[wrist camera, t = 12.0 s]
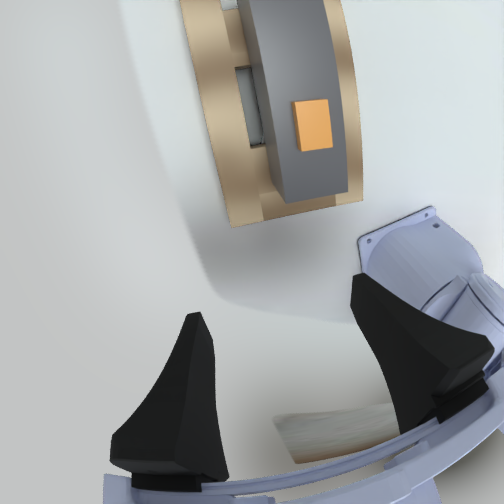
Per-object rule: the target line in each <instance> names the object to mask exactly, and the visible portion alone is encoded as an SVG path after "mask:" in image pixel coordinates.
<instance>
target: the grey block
mask: <svg viewBox="0 0 504 504" xmlns="http://www.w3.org/2000/svg"><path fill="white" fill-rule="evenodd" d="M237 4H238V8H239V13H240V17H241V22H242V26H243V31H244V35H245V40H246V45H247V49H248V54H249V59H250V64H251V69H252V74H253V79H254V84H255V89H256V94H257V100H258V105H259V110H260V116H261V121H262V127H263V132H264V134H263V137H262V141H261V144H264V143H265V144H266V150H267V156H268V162H269V168H270V174H271V180H272V183H273V185H274V186H275V188H276V190H277V191H278V193H279V194H280V196H281V197H282V199H283V201H284V202H285V204H289V203H294V202H299V201H304V200H309V199H314V198H319V197H324V196H330V195H335V194H340V193H346V192H348V171H347V153H346V139H345V127H344V117H343V108H342V99H341V91H340V84H339V77H338V70H337V64H336V58H335V53H334V47H333V42H332V37H331V32H330V27H329V23H328V18H327V14H326V10H325V6H324V2H323V0H237Z"/></svg>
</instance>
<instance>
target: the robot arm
mask: <svg viewBox="0 0 504 504" xmlns="http://www.w3.org/2000/svg"><path fill="white" fill-rule="evenodd" d="M368 239H369V241H367V240H368ZM358 244H359V251H360V257H361V264H362V271H363V273H361V274H357V275H354V276H353V281H352V293H351V304H350V307H351V309H352V312H353V314H354V317H355V319H356V322H357V324H358V326H359V327H360V329H361V331H362V333H363V334H364V336H365V338H366V340H367V342H368V344H369V345H370V347H371V349H372V351H373V353H374V354H375V356H376V358H377V360H378V362H379V365H380V367H381V369H382V372H383V375H384V377H385V380H386V383H387V386H388V389H389V392H390V395H391V398H392V401H393V405H394V408H395V412H396V416H397V421H398V425H399V430H400V434H401V435H400V436H398V437H396V438H394V439H391V440H389V441H387V442H385V443H382V444H380V445H377V446H375V447H372V448H370V449H367V450H365V451H362V452H360V453H357V454H354V455H351V456H348V457H345V458H342V459H339V460H336V461H333V462H329V463H326V464H322V465H319V466H315V467H311V468H307V469H303V470H299V471H295V472H290V473H285V474H280V475H274V476H269V477H263V478H256V479H249V480H240V481H229V482H225V481H226V480H227V479H228V478H229V473H228V470H227V465H226V461H225V456H224V452H223V447H222V442H221V437H220V430H219V425H218V417H217V411H216V398H215V354H214V346H213V339H212V337H211V335H210V332H209V330H208V328H207V326H206V324H205V321H204V319H203V317H202V314H201V312H195V313H190V314H187V316H186V318H185V321H184V323H183V326H182V329H181V331H180V334H179V336H178V339H177V341H176V343H175V346H174V348H173V350H172V353H171V355H170V357H169V359H168V361H167V363H166V365H165V367H164V369H163V371H162V372H161V374H160V376H159V378H158V379H157V381H156V383H155V384H154V386H153V387H152V389H151V390H150V392H149V393H148V395H147V396H146V398H145V399H144V400H143V402H142V403H141V404H140V406H139V407H138V408H137V409H136V411H135V412H134V413H133V414H132V415H131V417H130V418H129V419H128V420H127V421H126V422H125V423H124V424H123V425H122V426H121V427H120V428H119V429H118V430H117V431H116V432H115V433H114V434H113V435H112V440H111V449H110V462H111V463H112V464H113V465H115V466H117V467H119V468H122V469H124V470H126V471H129V472H131V473H132V478H130V477H125V476H118V475H111V474H104V484H103V486H104V487H103V504H442V502H441V499H440V496H439V493H438V491H437V488H436V485H435V482H434V480H433V477H434V476H436V475H437V474H439V473H440V472H442V471H443V470H445V469H446V468H448V467H449V466H451V465H452V464H453V463H455V462H456V461H458V460H459V459H460V458H462V457H463V456H464V455H466V454H467V453H468V452H470V451H471V450H472V449H473V448H475V447H476V446H477V445H478V444H480V443H481V442H482V441H483V440H484V439H485V438H487V437H488V436H489V435H490V434H491V433H492V432H493V431H494V430H495V429H497V428H498V429H499V430H500V431H501V432H502V433H503V434H504V289H503V288H502V287H501V286H500V285H499V284H498V283H496V282H495V281H494V280H493V279H492V278H490V277H489V276H487V275H486V274H484V272H483V265H482V262H481V259H480V257H479V255H478V253H477V251H476V250H475V248H474V247H473V246H472V244H470V243H469V242H468V241H467V240H466V239H465V238H464V237H462V236H461V235H460V234H459V233H458V232H456V231H455V230H454V229H453V228H451V227H450V226H449V225H448V224H446V223H445V222H444V221H443V220H441V219H440V218H439V217H437V216H436V208H435V207H433V206H431V207H429V208H426V209H424V210H422V211H420V212H418V213H415V214H413V215H411V216H409V217H407V218H404V219H402V220H400V221H398V222H395V223H393V224H391V225H388V226H386V227H384V228H382V229H379V230H377V231H375V232H372V233H370V234H368V235H365V236H363V237H361V238H360V239H359V241H358ZM415 443H416V444H415ZM413 444H415V445H414V447H412V448H410V449H408V450H406V451H405V452H403V453H401V454H399V455H397V456H395V458H394V459H392V460H391V461H389V462H387V463H386V464H384V469H385V471H384V472H381V473H379V474H376V475H374V476H371V477H369V478H366V479H363V480H361V481H358V482H355V483H352V484H349V485H346V486H343V487H340V488H337V489H333V490H330V491H327V492H323V493H320V494H316V495H312V496H308V497H304V498H299V499H295V500H290V501H286V502H280V503H275V498H273V497H268V496H266V495H263V496H252V497H238V498H236V497H234V496H237V495H247V494H256V493H262V492H269V491H275V490H281V489H286V488H291V487H296V486H300V485H305V484H309V483H313V482H317V481H320V480H324V479H328V478H331V477H334V476H338V475H341V474H344V473H347V472H350V471H353V470H355V469H358V468H361V467H364V466H366V465H369V464H372V463H374V462H376V461H379V460H381V459H384V458H386V457H388V456H391V455H393V454H395V453H397V452H399V451H401V450H403V449H405V448H408V447H410V446H412V445H413Z"/></svg>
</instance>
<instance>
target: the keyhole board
mask: <svg viewBox="0 0 504 504" xmlns="http://www.w3.org/2000/svg"><path fill="white" fill-rule="evenodd" d="M323 2H324V6H325V10H326V14H327V18H328V23H329V27H330V32H331V37H332V42H333V47H334V53H335V58H336V64H337V70H338V77H339V84H340V91H341V99H342V108H343V117H344V127H345V139H346V153H347V171H348V192H346V193H340V194H335V195H330V196H324V197H319V198H314V199H309V200H304V201H299V202H294V203H289V204H285V202H284V201H283V199H282V197H281V196H280V194H279V193H278V191H277V190H276V188H275V186H274V185H273V183H272V180H271V174H270V168H269V162H268V156H267V150H266V144H265V143H264V144H259V145H253V146H250V143H249V138H248V132H247V127H246V122H245V117H244V112H243V107H242V102H241V97H240V92H239V87H238V82H237V77H236V73H235V70H238V69H244V68H251V64H250V59H249V54H248V49H247V45H246V40H245V35H244V31H243V26H242V22H241V17H240V13H239V8H238V9H231V10H224V11H222V8H221V3H220V0H180V4H181V9H182V14H183V19H184V24H185V28H186V33H187V38H188V42H189V47H190V52H191V56H192V61H193V66H194V70H195V75H196V79H197V84H198V88H199V93H200V97H201V101H202V106H203V110H204V115H205V119H206V123H207V128H208V132H209V136H210V141H211V145H212V149H213V154H214V158H215V162H216V166H217V170H218V175H219V179H220V183H221V187H222V191H223V195H224V200H225V204H226V208H227V212H228V216H229V220H230V224H231V228H234V227H239V226H243V225H248V224H252V223H257V222H261V221H266V220H270V219H275V218H279V217H284V216H289V215H294V214H298V213H303V212H308V211H313V210H318V209H323V208H328V207H333V206H338V205H343V204H348V203H353V202H359V201H363V159H362V139H361V124H360V113H359V103H358V94H357V85H356V78H355V71H354V64H353V58H352V52H351V46H350V41H349V36H348V31H347V26H346V22H345V17H344V13H343V9H342V5H341V1H340V0H323Z"/></svg>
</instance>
